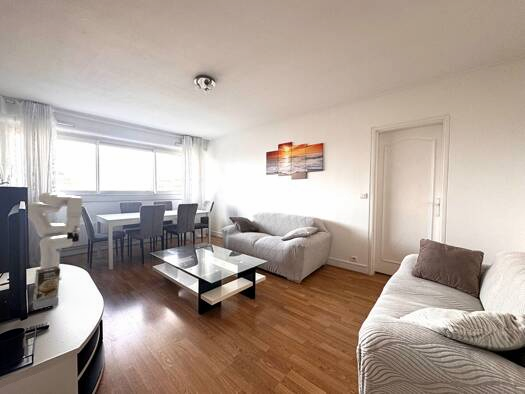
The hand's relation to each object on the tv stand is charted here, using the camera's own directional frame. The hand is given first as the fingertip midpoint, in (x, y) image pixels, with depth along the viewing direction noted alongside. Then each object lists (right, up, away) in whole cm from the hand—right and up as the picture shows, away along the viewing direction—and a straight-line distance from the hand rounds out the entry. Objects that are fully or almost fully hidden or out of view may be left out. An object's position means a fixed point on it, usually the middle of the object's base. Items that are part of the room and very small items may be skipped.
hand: (72, 240), depth 139 cm
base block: (+1, -34, -18) cm, 39 cm away
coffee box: (+1, -29, -18) cm, 35 cm away
